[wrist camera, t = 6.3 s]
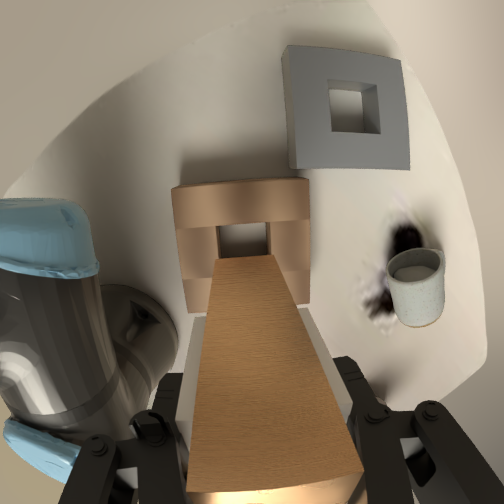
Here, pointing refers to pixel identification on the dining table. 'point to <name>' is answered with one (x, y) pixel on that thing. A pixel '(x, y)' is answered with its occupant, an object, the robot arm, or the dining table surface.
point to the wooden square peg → (264, 400)
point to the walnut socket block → (242, 212)
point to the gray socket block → (318, 109)
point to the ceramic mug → (417, 285)
